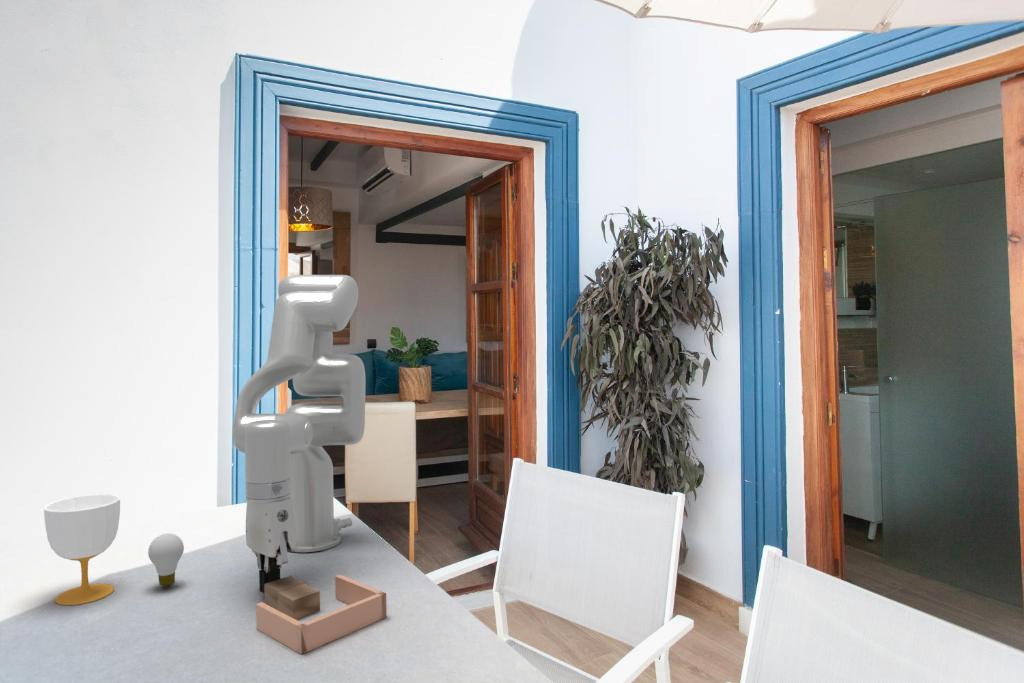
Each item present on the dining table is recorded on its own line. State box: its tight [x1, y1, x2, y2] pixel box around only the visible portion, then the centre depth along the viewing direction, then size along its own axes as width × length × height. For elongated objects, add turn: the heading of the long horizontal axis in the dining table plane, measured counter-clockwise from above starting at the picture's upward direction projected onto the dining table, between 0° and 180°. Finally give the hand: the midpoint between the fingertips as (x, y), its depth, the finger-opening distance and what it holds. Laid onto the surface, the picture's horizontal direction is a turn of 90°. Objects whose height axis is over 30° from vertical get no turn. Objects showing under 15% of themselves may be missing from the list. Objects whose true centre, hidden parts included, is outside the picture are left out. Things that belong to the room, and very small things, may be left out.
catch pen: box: [255, 574, 388, 655], centre depth 107 cm, size 16×13×4 cm
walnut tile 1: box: [263, 575, 306, 610], centre depth 115 cm, size 5×5×4 cm
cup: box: [43, 493, 121, 606], centre depth 119 cm, size 12×12×17 cm
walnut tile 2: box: [278, 583, 321, 621], centre depth 111 cm, size 5×5×4 cm
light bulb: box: [147, 533, 185, 589], centre depth 122 cm, size 6×6×10 cm
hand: (270, 590), depth 117 cm, fingers closed
